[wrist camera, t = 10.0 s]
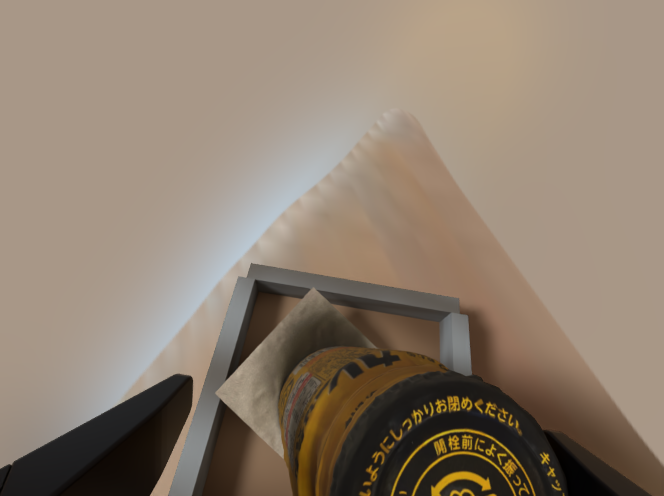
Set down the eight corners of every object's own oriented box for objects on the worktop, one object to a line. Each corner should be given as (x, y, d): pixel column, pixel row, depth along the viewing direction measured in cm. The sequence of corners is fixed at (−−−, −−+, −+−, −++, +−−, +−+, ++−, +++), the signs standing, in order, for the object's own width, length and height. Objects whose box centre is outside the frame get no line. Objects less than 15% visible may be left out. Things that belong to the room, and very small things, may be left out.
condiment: (338, 511, 16) (521, 905, 5) (215, 392, 16) (118, 504, 5) (420, 389, 19) (668, 463, 7) (312, 287, 19) (390, 208, 8)
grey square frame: (456, 592, 16) (487, 623, 13) (171, 543, 16) (145, 565, 13) (447, 314, 23) (466, 299, 20) (249, 281, 23) (243, 261, 20)
